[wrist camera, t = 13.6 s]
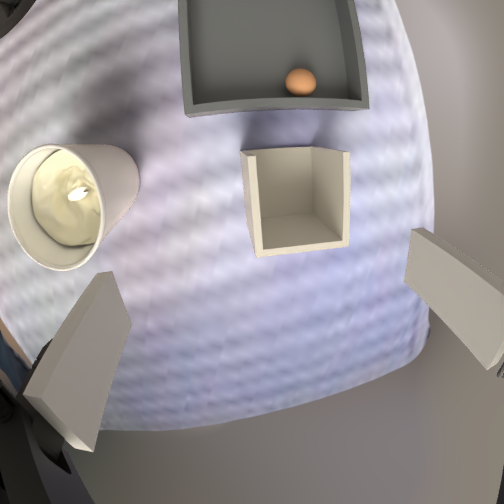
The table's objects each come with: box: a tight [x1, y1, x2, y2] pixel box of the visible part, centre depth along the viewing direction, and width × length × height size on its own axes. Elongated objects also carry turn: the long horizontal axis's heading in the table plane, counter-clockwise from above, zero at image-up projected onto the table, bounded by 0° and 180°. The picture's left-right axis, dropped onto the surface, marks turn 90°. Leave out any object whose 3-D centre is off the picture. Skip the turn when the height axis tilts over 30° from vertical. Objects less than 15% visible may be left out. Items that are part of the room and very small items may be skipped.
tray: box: [178, 0, 369, 118], centre depth 21 cm, size 18×18×4 cm
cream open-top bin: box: [240, 146, 350, 258], centre depth 25 cm, size 8×8×9 cm
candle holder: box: [7, 144, 140, 271], centre depth 21 cm, size 10×10×12 cm
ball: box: [285, 69, 316, 97], centre depth 23 cm, size 3×3×3 cm
